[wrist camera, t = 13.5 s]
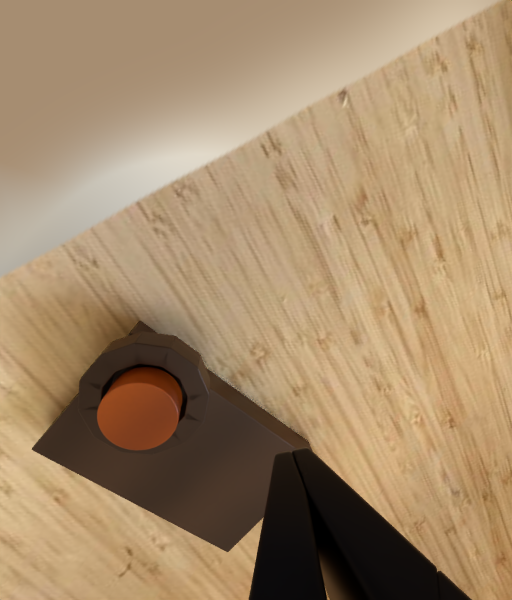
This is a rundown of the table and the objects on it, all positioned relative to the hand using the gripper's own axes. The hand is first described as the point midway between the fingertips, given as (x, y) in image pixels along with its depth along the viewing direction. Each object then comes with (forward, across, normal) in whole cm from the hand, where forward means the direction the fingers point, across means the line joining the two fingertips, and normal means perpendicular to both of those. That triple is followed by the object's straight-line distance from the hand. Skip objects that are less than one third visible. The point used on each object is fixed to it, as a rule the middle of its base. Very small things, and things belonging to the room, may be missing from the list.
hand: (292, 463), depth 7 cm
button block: (+13, +6, +9) cm, 17 cm away
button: (+9, +6, +3) cm, 12 cm away
